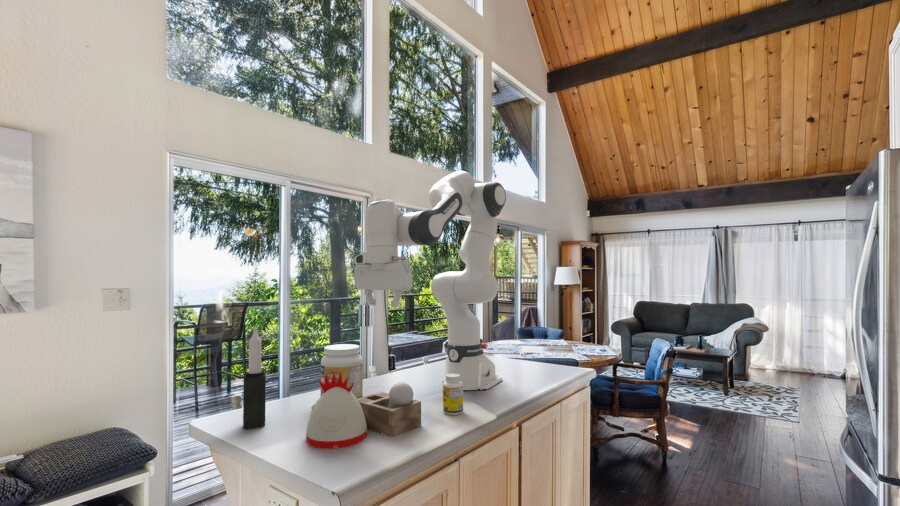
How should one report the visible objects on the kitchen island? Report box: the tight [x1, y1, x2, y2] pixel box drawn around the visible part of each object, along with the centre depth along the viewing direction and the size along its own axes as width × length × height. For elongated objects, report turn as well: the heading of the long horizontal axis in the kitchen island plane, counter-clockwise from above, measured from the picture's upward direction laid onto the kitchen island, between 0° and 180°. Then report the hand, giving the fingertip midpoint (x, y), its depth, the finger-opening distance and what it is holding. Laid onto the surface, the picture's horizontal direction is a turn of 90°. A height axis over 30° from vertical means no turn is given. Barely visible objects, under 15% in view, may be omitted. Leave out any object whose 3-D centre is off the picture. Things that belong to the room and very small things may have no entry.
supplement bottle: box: [442, 374, 464, 416], centre depth 122 cm, size 6×6×10 cm
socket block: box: [357, 391, 422, 438], centre depth 112 cm, size 10×15×6 cm, turn 51°
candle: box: [242, 326, 267, 430], centre depth 113 cm, size 5×5×25 cm
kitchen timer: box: [305, 373, 368, 450], centre depth 104 cm, size 14×14×15 cm
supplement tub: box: [320, 343, 364, 398], centre depth 130 cm, size 12×12×17 cm
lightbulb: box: [388, 382, 414, 409], centre depth 111 cm, size 6×6×11 cm
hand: (383, 306), depth 123 cm, fingers open, 8 cm apart
